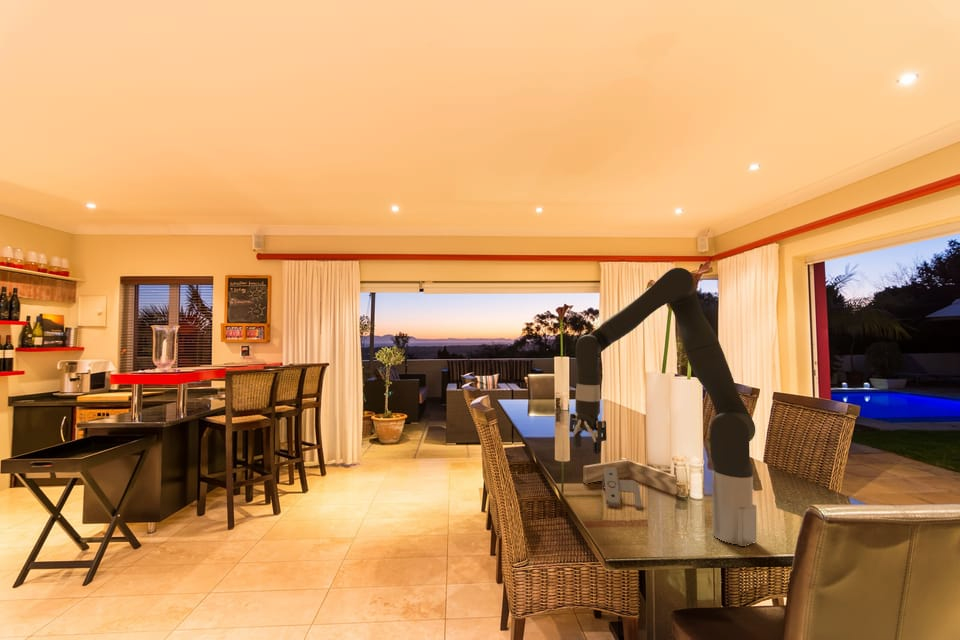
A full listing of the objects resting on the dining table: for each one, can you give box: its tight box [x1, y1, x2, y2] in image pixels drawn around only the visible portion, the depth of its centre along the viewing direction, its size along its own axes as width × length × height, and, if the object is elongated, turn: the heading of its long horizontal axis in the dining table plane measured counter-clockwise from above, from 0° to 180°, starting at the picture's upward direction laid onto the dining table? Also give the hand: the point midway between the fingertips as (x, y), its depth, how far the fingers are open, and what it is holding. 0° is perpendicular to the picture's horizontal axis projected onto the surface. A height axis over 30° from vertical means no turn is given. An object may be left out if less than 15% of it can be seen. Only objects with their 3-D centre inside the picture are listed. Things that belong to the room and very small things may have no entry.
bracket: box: [602, 467, 643, 510], centre depth 142 cm, size 10×14×10 cm
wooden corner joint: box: [582, 457, 677, 495], centre depth 152 cm, size 24×22×6 cm
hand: (586, 450), depth 136 cm, fingers open, 8 cm apart
